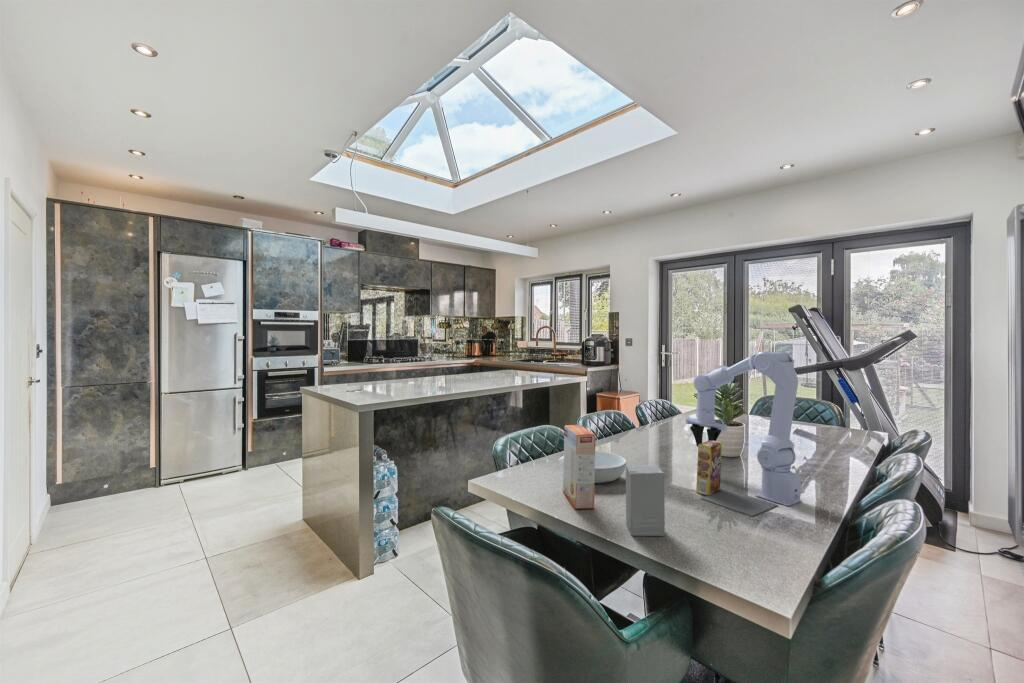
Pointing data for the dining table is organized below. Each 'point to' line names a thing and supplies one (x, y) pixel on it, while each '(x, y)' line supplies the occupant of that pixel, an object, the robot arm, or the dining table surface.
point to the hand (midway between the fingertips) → (705, 447)
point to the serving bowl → (608, 466)
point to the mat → (739, 502)
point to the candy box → (709, 467)
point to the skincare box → (645, 500)
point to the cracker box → (579, 466)
